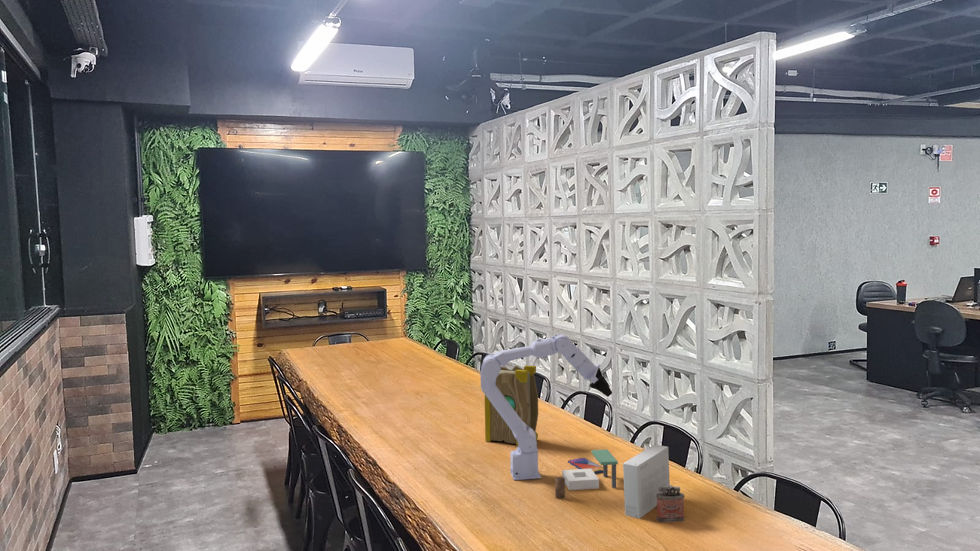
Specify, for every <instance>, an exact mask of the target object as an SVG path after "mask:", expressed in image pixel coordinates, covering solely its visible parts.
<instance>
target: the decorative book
mask: <svg viewBox="0 0 980 551" xmlns="http://www.w3.org/2000/svg"><path fill="white" fill-rule="evenodd" d="M536 372H537V366H536V365H524V366H523V368H522V367H520V366H518V365H515V366H514V367H513V368H512V369H510V368H507V367H506V366H505V367H504V368H503V366H501V370H500V373H499V374H498V376H497V378H496V383H495V385H496V386H497V388H498V389H499V390H500V392H501V393H502V394H503V396H504V397H505V398H506V400H507V401H508V402H509V404H510V405H511V406H512V408H513V409H514V411H515V412H516V413H517V415H518V416H519V417H520V419H521V420H522V421H523V422H524V423H525V424H526V425H527V426H528V427H530V428H532V429H533V430H534V431H535V433H536V441H537V440H538V438H539V433H538V432H537V424H538V418H539V394H538V389H537V383H536V378H535V374H536ZM484 432H485V433H484V434H485V436H484V437H485V442H490V443H491V441H495V442H496V441H497V442H504V443H509V444H512V445H513V444H515V445H516V447H518V442H517V440H516V438H515V437H514V435H513V432H512V430H511V429H510V428H509V426H508V425H507V424H506V422H505V421H504V420H503V418H502V417H501V415H500V414H499V413H498V411H497V410H496V409H495V407H494V406H493V405H492V403H491V402H490V401H489V399H488V398H487V397H486V395H485V394H484Z"/></svg>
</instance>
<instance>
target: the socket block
mask: <svg viewBox="0 0 980 551" xmlns="http://www.w3.org/2000/svg"><path fill="white" fill-rule="evenodd" d="M561 470H562V471H561V477H563V478H565V487H566V488H567V489H568V491H577V490H578V491H579V490H594V489H599V488H600V478H599V477H598V476H597V474H595V473H594V472H593V470H592V469H578V468H576V469H561Z"/></svg>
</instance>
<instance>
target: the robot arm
mask: <svg viewBox="0 0 980 551" xmlns="http://www.w3.org/2000/svg"><path fill="white" fill-rule="evenodd" d="M556 354H560V355H562V356H563V357H564V358H565V360H566V361H567V362H568V364H570V366H572V367H573V369H575V371H577V373H578V374H580V376H581V377H582V378H583V380H584V381H589V382H591V383H590V384H589V387H590V388H591V389H594V390H595V391H598V392H600V393H601V394H603V395H605V396H606V397H608V398H609V397H610V396H611V395H612V394H613V391H612V390H611V388H610V384H609V382H608V381H607V380H606V378H605V377H604V376H603V374H602V372H601V368H600V367H601V365H600V364H599V363H598V364H596V365H595V364H594V362H592V361H591V359H590V358H589V357H588V356H587V355H586V354H585V353H583V351H582V350H581V349H580V348H579V347H578V346H576V345H575V344H574V343H573V342H572V340H571V339H570V337H568V336H567V335H565V334H561V333H560V334H559V333H558V334H556V335H551V337H549V338H543V339H541V337H539V338H536V340H534V341H533V342H532V343H531V344H530V345H527V346H521V347H517V348H510V349H505V350H499V351H496V352H493V353H489V354H486V355H485V357H484V358H483V360H482V362H481V367H480V371H479V373H480V374H479V375H480V389H481V392H482V393H483V394H484V396H485V395H486V397H487V398H488V399H489V401H490V402H491V403H492V405H493V406H494V407H495V409H496V410H497V411H498V413H499V414H500V415H501V417H502V418H503V420H504V421H505V422H506V424H507V425H508V426H509V428H510V429H511V430H512V432H513V435H514V437H515V438H516V440H517V442H518V446H516V449H515V450H510V453H509V455H510V458H509V460H510V468H509V469H510V472H509V473H510V474H511V477H512V479H513V481H519V480H520V481H521V480H538V479H541V478H542V476H541V474H540V472H539V448H538V447H537V446H538V445H537V444H538V442H537V440H536V433H537V432H536V433H535V431H534V430H533V429H532V428H530V427H528V426H527V425H526V424H525V423H524V422H523V421H522V420H521V419H520V417H519V416H518V415H517V413H516V412H515V411H514V409H513V408H512V406H511V405H510V404H509V402H508V401H507V400H506V398H505V397H504V396H503V394H502V393H501V392H500V390H499V389H498V388H497V386H496V385H495V383H496V378H497V376H498V374H499V373H500V370H501V367H503V368H504V367H506V366H507V365H508V364H509V363H510V362H511V361H515V360H518V359H523V358H527V357H530V356H534V358H537V359H539V358H543V357H549V356H552V355H556Z"/></svg>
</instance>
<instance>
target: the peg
mask: <svg viewBox="0 0 980 551" xmlns="http://www.w3.org/2000/svg"><path fill="white" fill-rule="evenodd" d="M554 482H555V483H554V486H555V488H554V490H555V491H554V493H555V494H554V498H555V499H558V500H563V499H565V497H566V484H565V478H563V477H562V476H557V477H555V478H554Z"/></svg>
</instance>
